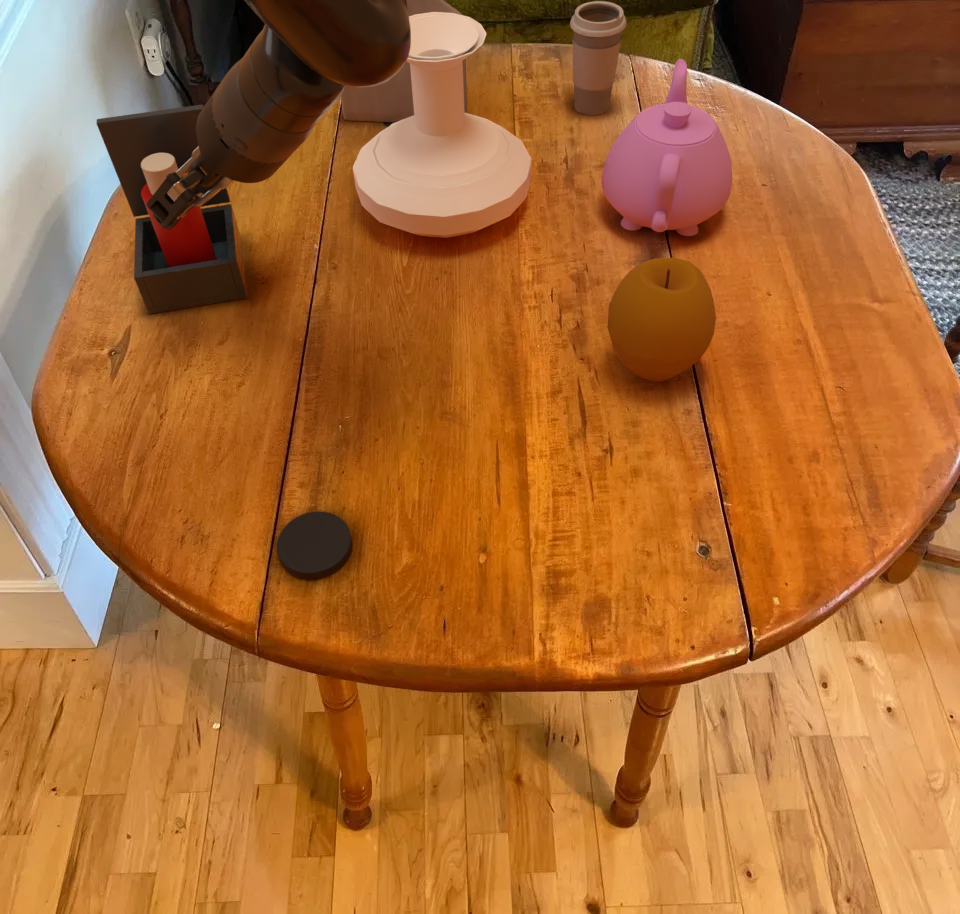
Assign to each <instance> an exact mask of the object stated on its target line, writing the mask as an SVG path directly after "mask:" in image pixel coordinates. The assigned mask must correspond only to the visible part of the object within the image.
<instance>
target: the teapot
mask: <svg viewBox="0 0 960 914" xmlns="http://www.w3.org/2000/svg"><path fill="white" fill-rule="evenodd" d="M687 77H688V65H687V62H686V60H684V59H683V58H679V59H677V60H676V62H675V64H674V67H673V73H672V79H671V83H670V87H669V90H668V93H667V95H666V98H665V100H664V103H660V104H654V105H651V106H649V107H647V108H644V109H643V110H642V111H640V112H639V113H638V114H636V115H635V117H633V118H632V120H631V121H630V122H629V123H628V124H627V125H626V127H625V128H624V129H623V130H622V131H621V132H620V133H619V135H618V136H617V138H616V139H615V141H614V142H613V144H612V146H611V147H610V149H609V151H608V154H607V157H606V158H605V162H604V165H603V168H602V174H601V181H600V182H601V188H602V191H603V194H604V197H605V198H606V200H607V201H608V203H609V204H611V206H612V207H613V208H614V209H615V210H616V211H617V212H618V214H620V215H621V216H622V217H623V218H622V219H621V220H620V226H621V227H622V228H623V229H625V230H627V231H638V230H640V229H642V228H643V227H644V228H649V229H651V230H653V231H654V232H657V233H662V232H665V231H675V232H676V233H678V235H681V236H684V237H693V236H695V235H697V234H698V233H699V226H698V225H699V224H701V223H703V222H704V221H707V220H709V219H710V218H712V217H713V216H714V215H716V214H717V213H718V212H720V211H721V209H722V208H724V206H725V205H726V204H727V202H728V200H729V199H730V195H731V191H732V186H733V167H732V165H733V164H732V160H731V159H732V158H731V154H730V151H729V148H728V145H727V142H726V140H725V138H724V136H723V133H722V131H721V130H720V127H719V126H718V124H717V123H716V122H717V121H715V119H714V118H713V117H712V116H711V115H710V114H709V113H708V112H706V111H705V110H703V109H702V108H699V107H696V106H694V105H690V104H688V96H687V95H688V94H687V93H688V92H687V79H688V78H687Z"/></svg>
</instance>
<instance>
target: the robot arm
mask: <svg viewBox="0 0 960 914" xmlns="http://www.w3.org/2000/svg"><path fill="white" fill-rule="evenodd" d="M243 1H244V2H245V4H246V5H248V6H249V8H250V9H251V10H252V11H253V12H254V13H255V15H256V16H257V17H258V18H259V20H260V21H261V22H262V23H263V24H264V25H263V29H262V30H261V31H260V32H259V33H258V35H257V36H256V37H255V39H254V40H253V41H252V43H251V44H250V46H249V48H247V50H246V52H245V53H244V55H243V56H242V57H241V58H240V59H239V60H238V61H237V62H236V63H234V65H233V66H231V68H230V69H229V70H228V71H227V73H226V74H225V75H224V76H223V78H222V79H221V81H220V83H219V84H218V85H217V87H216V88H215V90H214V92H213V93H212V94H211V96H210V97H209V99H208V100H207V102H206V103H205V104H204V105H203V107H204V108H203V109H202V111H201V112H200V114H199V116H198V119H197V124H196V135H197V141H198V145H199V146H198V147H197V148H196V149H195V150H194V151H193V152H192V157H191V158H190V159H189V160H188V161H187V162H186V163H185V164H184V165H183V166H182V167H181V168H179V169H178V170H177V171H176V172H173V173H172V174H171V173H170V174H168V175H167V176H166V177H167V178H166V179H165V180H164V182H163V183H162V184H161V185H160V187H159V188H158V189H157V191H156V192H155V193H154V195H153V196H152V197H151V198H150V199H149V200H148V203H147V204H146V206H147V207H148V208H149V210H151V211H152V212H153V218H154V219H155V220H156V221H157V222H158V223H159V224H160V225H161V226H162V228H163V229H164V228H166V229H167V230H171V229H172V228H173V227H175V226H176V225H177V223H178V222H179V221H180V220H181V218H184V217H185V216H186V213H187V212H188V211H189V210H191V209H192V208H193V207H194V206H197V207H199V206H202V205H204V204H206V203H207V202H208V201H209V200H210V199H211V198H213V197H214V196H215V195H216V194H217V193H218V192H219V191H220V190H221V189H225V188H227V189H228V188H230V186H232V185H233V184H234V183H235V182H238V183H243V184H257V183H261V182H263V181H266V180H268V179H269V178H271V177H272V176H273V175H274V174H275V173H276V172H277V171H278V170H279V169H280V168H281V167H282V166H283V164H285V163H286V162H287V160H288V159H290V157H291V156H292V155H293V154H294V153H295V152H296V151H297V149H299V147H301V145H303V143H304V142H305V141H306V140H307V139H308V137H309V136H310V134H311V132H312V131H313V129H314V127H315V126H316V125H317V123H318V122H319V121H320V120H321V119H322V118H323V117H324V116H325V114H326V113H327V112H328V111H330V109H331V108H332V107H333V106H334V105H335V104H336V103H337V101H338V100H339V98H341V94H342V93H343V91H344V89H345V86H346V85H347V86H352V87H371V86H375V85H379V84H382V83H384V82H387V81H388V80H390V79H391V78H393V77H394V76H395V75H396V74H397V73H398V72H399V71H400V70H401V69H402V67H403V66H404V64H405V62H406V61H407V58H408V55H409V52H410V46H411V29H410V22H409V15H408V9H407V2H406V0H243ZM188 172H190V174H188ZM198 183H199V184H200V185H201V186H203V187H207V188H211V189H210V190H209V191H208V192H207V193H206V194H202V193H201V192H200V191H199V190H198V188H197V187H196V185H197V184H198ZM202 207H203V206H202Z"/></svg>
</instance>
